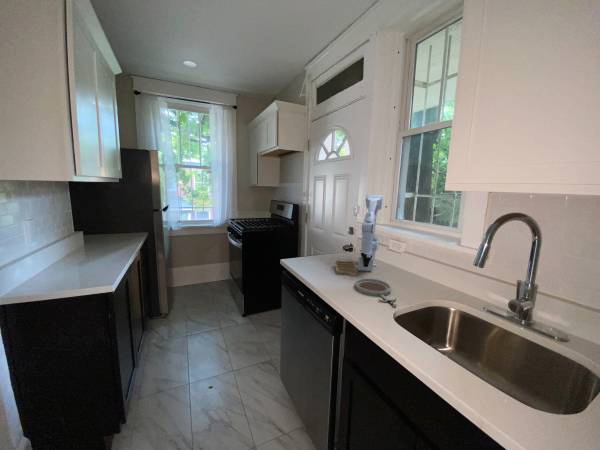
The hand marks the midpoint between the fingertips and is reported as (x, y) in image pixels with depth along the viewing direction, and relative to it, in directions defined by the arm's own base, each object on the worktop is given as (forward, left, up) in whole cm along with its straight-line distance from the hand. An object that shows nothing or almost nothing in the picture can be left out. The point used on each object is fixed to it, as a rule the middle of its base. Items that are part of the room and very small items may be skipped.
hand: (365, 266), depth 146 cm
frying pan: (+31, 0, -4) cm, 31 cm away
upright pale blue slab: (0, 0, -2) cm, 2 cm away
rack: (+1, -12, -3) cm, 12 cm away
